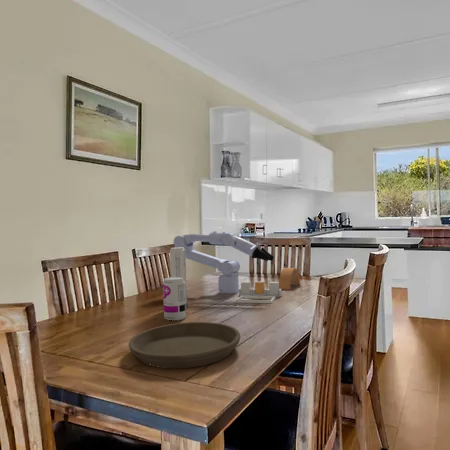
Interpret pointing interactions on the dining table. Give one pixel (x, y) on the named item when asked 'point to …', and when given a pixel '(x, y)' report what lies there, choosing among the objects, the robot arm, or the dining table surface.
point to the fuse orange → (259, 287)
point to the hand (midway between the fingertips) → (270, 258)
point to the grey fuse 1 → (245, 287)
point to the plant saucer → (185, 344)
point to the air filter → (178, 265)
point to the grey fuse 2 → (273, 287)
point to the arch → (288, 278)
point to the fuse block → (266, 293)
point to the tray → (256, 300)
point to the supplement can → (174, 298)
